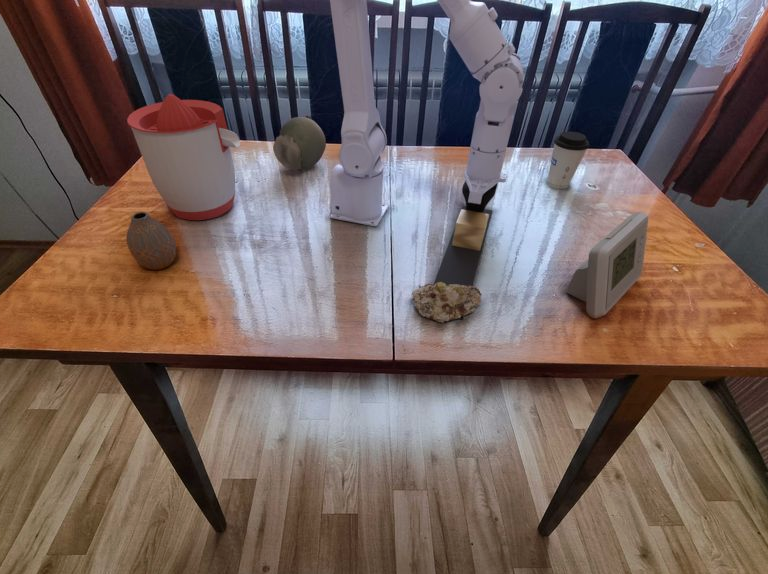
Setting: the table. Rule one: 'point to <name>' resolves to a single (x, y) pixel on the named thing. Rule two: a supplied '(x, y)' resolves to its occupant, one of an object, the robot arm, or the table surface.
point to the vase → (150, 242)
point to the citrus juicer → (188, 155)
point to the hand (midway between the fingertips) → (472, 222)
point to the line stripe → (460, 262)
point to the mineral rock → (446, 301)
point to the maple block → (470, 229)
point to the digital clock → (611, 266)
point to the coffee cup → (566, 158)
